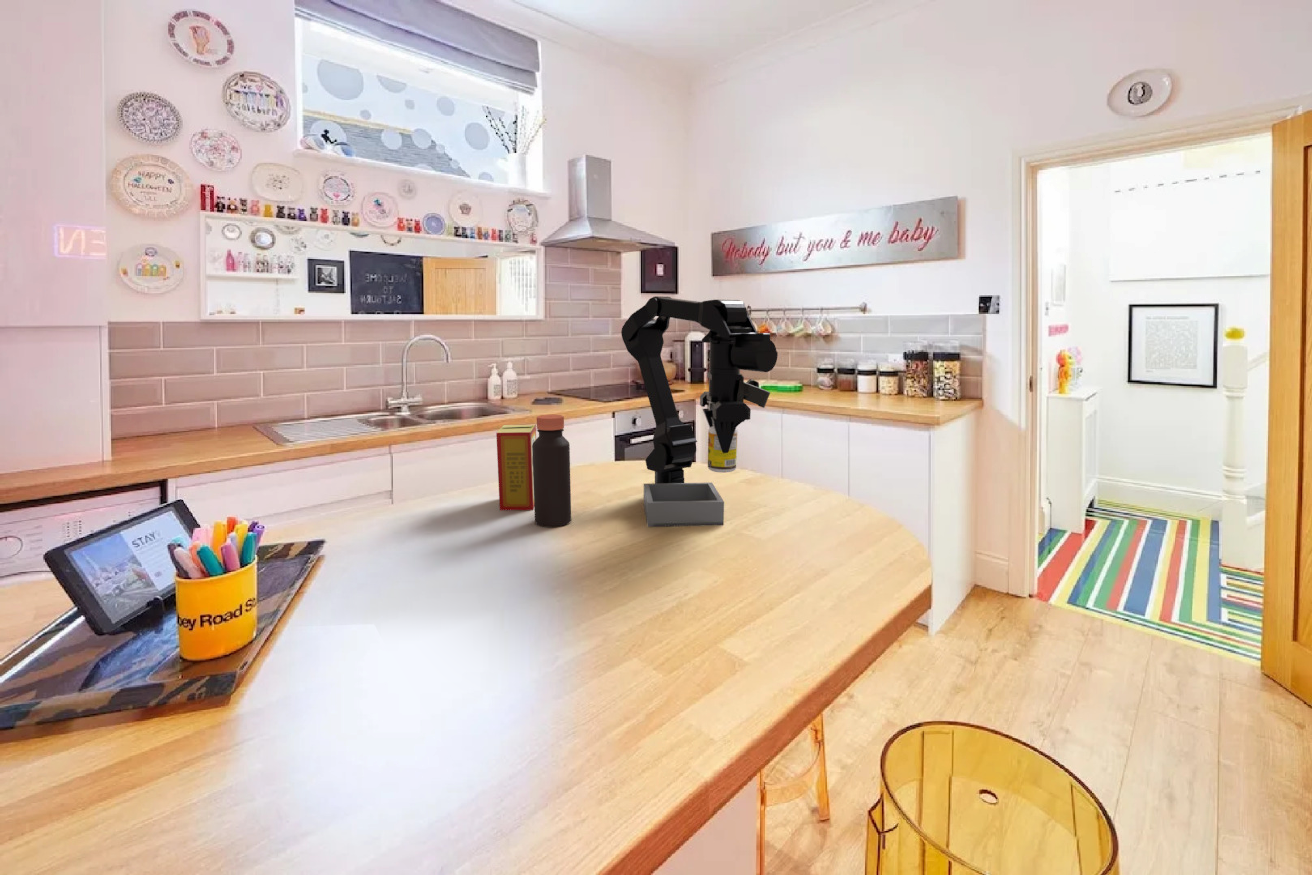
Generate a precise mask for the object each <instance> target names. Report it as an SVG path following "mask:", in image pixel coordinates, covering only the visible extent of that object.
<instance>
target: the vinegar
mask: <svg viewBox="0 0 1312 875" xmlns="http://www.w3.org/2000/svg"><path fill="white" fill-rule="evenodd" d="M564 428H565V416H563V414H562V415H561V414H542V415H537V416H536V432H538V436H537V437H536V440H535V441H534V442H533V445H532V453H533V482H534V509H533V512H534V523H535V524H536V525H537V526H540V527H544V528H557V527H563V526H566V525H568V524H570V523H571V521H572V502H571V501H572V497H571V496H572V495H571V494H572V493H571V488H572V487H571V455H570V453H571V451H570V450H571V448H570V442H569V440H568V439H566V438H565V436H563V432H564V431H565V429H564Z"/></svg>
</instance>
